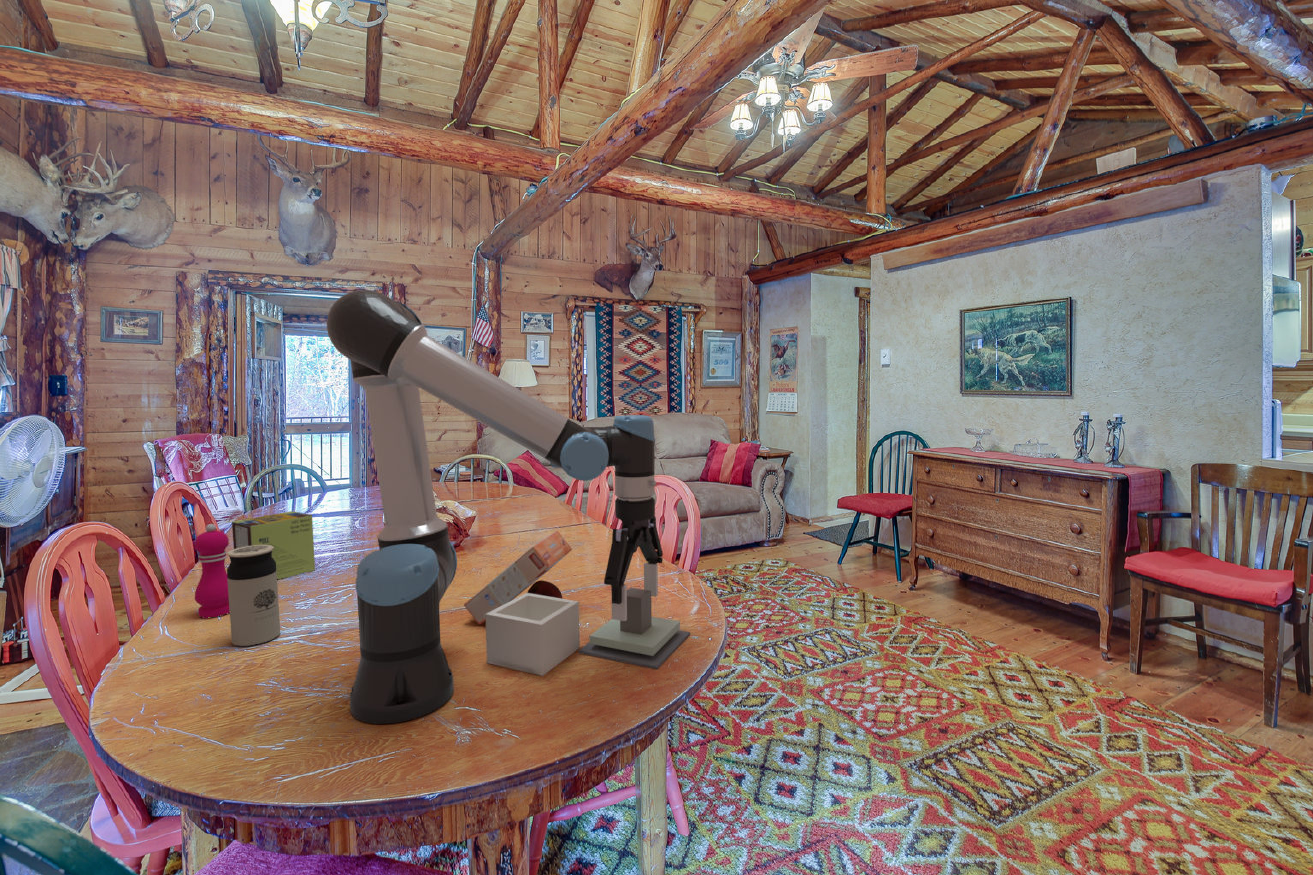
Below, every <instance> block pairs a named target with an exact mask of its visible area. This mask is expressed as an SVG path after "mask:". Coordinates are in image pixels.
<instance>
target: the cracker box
mask: <svg viewBox="0 0 1313 875" xmlns="http://www.w3.org/2000/svg"><path fill="white" fill-rule="evenodd" d="M572 550H573V549H572V547H571V545H570V543H568V542H567V540H566V539H565V538H564V537H563V536H562V535H561V533H560V532H559V531H558V530H554V532H552V533H550V534H549V535H547V536H546V537H545V538H543V539H542V540H540V541H538V542H537V543H536V544H534V545H532V546H531V547H529V549H528V550H527V551H525V552H524V553H523V554H522V555H520V556H519V557H518V558H517V559H516V560H515V561H514V562H512V563H511V564H510V565H508V566H507V567H506V568H505V569H504V570H502V572H500V573H499V574H498V575H497V576H496V577H494V578H493V579H492V580H491V581H490V582H489V583H487V584H486V585H485V586H484V587H483V588H481V589H480V590H479V591H477V593H475V595H473V596H472V597H471V598H469V599H468V600H467V601H466V602H465V603H464V604H463V606H464V607H465V609H466V610H467V611H468V612H469V614H470V615H471V616H472V618H473V619H474V620H475V622H476V623H477V624H478V625H479V626H481V625H483V624H484V623H486V617H485V614H487V613H489V612H490V611H492V610H494V609H496V608H498V607H500V606H502V605H504V604H506V603H508V602H510V601H512V600H514V599H516V598H518V597H519V596H520V594H522V593H523V592H524V591H525V590H527V589H529V588H530V587H531V586H532V585H533V584H534V583H535V582H537V581H539V579H540V578H541V577H543V576H544V575H545V574H546V573H547V572H549V571H550V570H551V569H553V567H555V566H556V565H557V564H558V563H559V562H560V561H561V560H562V559H563V558H564V557H566V556H567V555H568V554H569V553H570V552H571V551H572Z"/></svg>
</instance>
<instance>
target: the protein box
mask: <svg viewBox="0 0 1313 875" xmlns="http://www.w3.org/2000/svg"><path fill="white" fill-rule="evenodd" d="M231 525H232V526H231V528H232V529H231V530H232V539H233V540H232V541H233V544H232V545H233V549H236V548H240V547H246V546H252V545H271V546H273V547H274V549H273V550H272V558H273V559H274V560H275V562H276V570H277V579H280V580H282V579H281V578H284V579H288V578H291V576H292V577H294V576H295V575H296V576H299V575H298V574H300V575H302V574H301V573H304V574H306V573H305V572H307V573H311V572H314V571H316V564H315V563H316V562H315V546H314V543H315V542H314V526H313V515H312V514H310V513H309V514H308V513H303V512H298V511H294V510H290V511H286V512H282V513H281V512H280V513H275V514H269V515H262V516H257V517H251V518H246V519H240V520H234V521H232V522H231ZM296 576H295V577H296ZM287 577H288V578H287Z"/></svg>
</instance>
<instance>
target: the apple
mask: <svg viewBox="0 0 1313 875" xmlns="http://www.w3.org/2000/svg"><path fill="white" fill-rule="evenodd" d="M526 593H531V594H537V595H543V596H549V597H555V598H561V599H563V595H562V592H561V590H560V589H559V587H558V586H556V584H554V583H552V582H550V581H547V580H543V579H541V580H536V581H535V582H534V583H533V584H532V585H530V586H529V588H528V590H527V592H526Z"/></svg>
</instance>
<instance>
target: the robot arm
mask: <svg viewBox="0 0 1313 875" xmlns="http://www.w3.org/2000/svg"><path fill="white" fill-rule="evenodd" d="M326 330H327V335H328V338H329V340H330V342H331V344H332V345H333V347H334V348H335V349H336V350H337V351H338V353H340V354H341V355H343V357H345V358H347V360H348V359H349V361H350V366H351V374H352V378H353V382H355V383H357V384H358V385H359V386H360V387H362V388H363V390H364V392H365V399H366V406H367V411H368V419H369V426H370V431H371V432H370V433H371V437H372V446H373V452H374V459H375V465H376V472H377V478H378V485H379V491H380V498H381V504H382V510H383V517H384V524H385V525H384V527H383V528H382V530H381V531H380V532H379V533H378V535H377V542H378V543H377V544H378V547H379V548H378V549H379V550H374V551H372V552H370V553H369V554H367V555H366V556H365V557H363V558H362V559H361V560H360V562H359V564H358V566H357V570H356V578H355V591H356V595H357V613H358V629H359V630H358V635H359V651H360V659H359V663H358V667H357V670H356V674H355V679H354V683H353V685H352V687H351V690H350V693H349V709H350V710H349V711H350V714H351V715H352V716H353V717H354V718H355V719H356V720H358V721H361V722H364V723H368V724H375V725H376V724H377V725H378V724H379V725H381V724H383V725H385V724H397V723H402V722H406V721H407V722H408V721H411V720H415V719H417V718H421V717H423V716H425V715H428V714H430V713H432V712H434V711H436V710H438V709H439V708H441V707H442V706H444V705H445V704H446V703H447V702H448V701H449V700H450V699H451V697H452V696H453V694H454V690H455V688H454V687H455V686H454V674H453V671H452V669H451V668H450V666H449V662H448V659H447V656H446V655H445V652H444V650H443V648H442V644H441V643H442V642H441V625H440V624H441V623H440V622H441V618H440V615H441V614H440V603H441V601H442V599H443V597H444V595H445V594H446V592H447V590H448V588H449V587H450V586H451V585H452V582H453V581H454V579H455V576H456V574H457V568H458V555H457V552H456V549H455V547H454V545H453V544H452V542H451V541H450V535H449V530H448V529H449V528H448V524H447V522H446V521H444V520H443V519H441V517H439V516H438V514H437V507H436V501H435V493H434V487H433V480H432V472H431V466H430V458H429V452H428V445H427V444H428V443H427V437H426V431H425V430H426V429H425V424H424V423H425V422H424V416H423V410H422V402H421V396H420V395H421V394H420V389H421V390H423V391H424V392H427V393H428V394H430V395H431V396H433V397H435V398H437V399H439V400H440V401H442V402H444V403H446V404H448V405H450V406H452V407H453V408H455V409H457V410H458V411H460V412H462V413H464V414H465V415H467V416H469V417H470V418H473V419H474V420H476V421H477V422H480V423H481V424H483V425H485V426H486V427H488V428H490V429H492V430H494V431H496V432H497V433H499V434H501V435H503V436H504V437H505V438H507V439H509V440H512V441H514V442H515V443H517V444H518V445H521V446H522V447H524V448H525V449H528V450H529V451H531V452H532V453H534V454H536V455H538V456H539V457H542V458H543V459H545V460H546V461H548V462H549V463H550V466H551V467H552V468H554V469H562V470H563V471H564V472H565V473H566V475H568V476H569V477H571V478H572V479H574V480H577V481H581V482H584V481H586V482H587V481H592V480H594V479H597V478H599V477H600V476H601V475H602V474H603V473H604V472H605V470H606V469H607V467H608V468H610V467H614V495H615V496H616V499H615V500H614V508H615V509H614V515H615V518H616V519H618V520H620V521H621V529H619V528H613V529H612V536H611V537H612V538H611V545H610V550H609V555H608V559H607V565H606V570H605V576H604V581H603V582H604V583H603V584H604V585H608V586H610V587H611V592H610V593H611V619H615V620H620V621H626V620H627V590H628V589H627V588H628V587H627V585H628V584H625V582H626V578H627V574H628V571H629V569H630V565H631V562H632V559H633V555H634V553H636V552H637V550H638V548H639V549H640V551H641V553H642V555H643V558H644V560H645V561H646V562H644V563H643V590H650V591H651V597H656V598H657V597H658V596H659V590H658V589H659V585H658V584H659V582H658V581H659V578H658V576H659V574H658V573H659V572H658V571H659V570H658V566H659V564H662V563H663V555H664V553H663V549H662V545H661V544H662V543H661V541H660V536H659V533H658V529H657V517H656V499H655V498H654V497H653V496H655V489H656V488H655V486H656V485H657V481H656V480H655V464H656V462H655V461H656V460H655V458H656V457H655V451H656V448H655V443H656V439H655V430H654V429H655V428H654V427H655V425H654V420H653V418H652V417H651V416H649V415H645V414H644V415H643V414H632V415H631V414H626V415H623V414H622V415H617V416H615V417H614V419H613V424H612V425H609V426H582V425H580V424H579V423H577V422H575V421H573V420H570V419H569V418H568V417H566V416H564V415H563V414H561V413H560V412H558V411H556V410H554V409H552V408H551V407H549V406H547V405H546V404H544V403H542V402H541V401H539V400H538V399H536V398H534V397H532V396H530V395H529V394H527V393H525V392H524V391H522V390H521V389H519V388H517V387H516V386H514V385H513V384H510V383H509V382H507V381H506V380H504V379H502V378H500V377H498V376H497V375H495V374H493V373H492V372H490V371H489V370H487V369H485V368H483V367H482V366H480V365H478V364H476V362H473V361H471V360H469V359H468V358H466V356H465V357H464V356H463V355H461V354H460V353H458V352H456V351H454V350H452V349H451V348H449V347H448V346H446V345H444V344H442V343H441V342H440V341H437V340H435V339H434V338H432V337H431V336H429V335H428V332H427V329H426V326H425V325H424V324H423V323H422V321H421V319H420V318H419V317H418V315H417V314H416V313H415V311H414V310H412V309H411V308H409V307H408V306H407V305H406V304H404V303H402V302H399V301H397V300H394V299H393V298H391V297H389V296H388V295H386V294H385V293H382V292H379V291H375V290H370V289H360V290H353V291H351V292H347V293H346V294H344V295H342V296H340V297H339V298H338V299H337V300H336V301H335V302H334V303H333V304H332V306H331V307H330V309H329V312H328V314H327V318H326Z"/></svg>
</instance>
